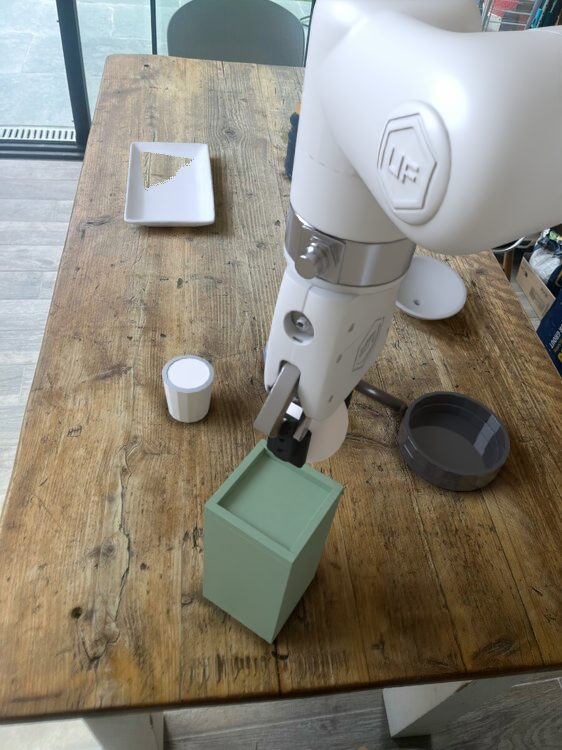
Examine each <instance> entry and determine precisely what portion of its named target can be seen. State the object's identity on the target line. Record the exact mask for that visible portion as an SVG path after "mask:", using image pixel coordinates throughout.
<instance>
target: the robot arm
mask: <svg viewBox="0 0 562 750" xmlns="http://www.w3.org/2000/svg"><path fill="white" fill-rule="evenodd" d="M312 10H313V11H312V15H311V20H310V28H309V29H310V30H309V36H308V45H307V52H306V53H307V54H306V61H305V67H304V68H305V69H304V76H303V77H304V78H303V83H302V84H303V85H302V93H301V100H300V102H301V108H300V116H299V124H298V132H297V140H296V149H295V157H294V165H293V174H292V180H291V184H290V192H289V198H288V208H287V214H286V225H285V232H284V239H283V240H284V241H283V249H282V250H283V256H284V259H285V261H286V263H287V265H286V266H285V269H284V272H283V276H282V279H281V283H280V287H279V290H278V295H277V299H276V304H275V308H274V312H273V315H272V321H271V324H270V325H271V326H270V331H269V335H268V339H269V341H268V340H267V342H268V347H267V353H266V361H265V372H263V373H264V374H263V380H264V381H263V382H264V388H265V391H266V394H268V395H267V397H266V399H265V401H264V403H263V405H262V407H261V408H260V410H259V413H258V414H257V416H256V419H255V420H254V423H253V426H252V428H253V429H254V430H257V431H258V432H259V433H261V434H263V435H265V436H266V437H267V439H266V441H267V449H268V450H269V451H271V452H272V453H273V455H274V456H275V457H277V458H278V459H280V460H282V461H284V462H289V463H291V464H292V465H294V466H296V467H297V468H302V467H303V465H304V464H306V463H305V462H306V458H307V454H308V449H309V445H310V440H311V436H312V432H311V431H310V430H309V429H308V428H309V426H310V423H311V421H312V419H314V420H315V421H321V420H324V419H326V418H328V417H329V416H331V415H332V414H333V413H334V412H335V410H336V409H337V408H338V407H339V406H340V405H341V403H342V402H343V401H344V402H345V405H346V408H347V410H348V409H349V408H350V405H351V402H352V398H353V395H354V392H355V390H354V388H355V386H356V385H357V384H358V382H359V381H360V380H361V379H362V380H363V378H364V376H365V375H366V374H367V372H368V371H369V370H370V369H371V367H372V366H373V365H374V364H375V363H376V361H377V359H378V358H379V357H380V355H381V354H382V352H383V350H384V348H385V346H386V343H387V339H388V337H389V336H388V335H389V332H390V329H391V328H390V327H391V324H392V320H393V317H394V313H395V309H396V301H397V297H398V293H399V289H400V284H401V282H402V281H403V280H404V279H405V278H406V276H407V274H408V271H409V268H410V264H411V262H412V259H413V256H414V254H415V252H416V249H417V246H419V248H422V249H424V250H426V251H428V252H431V253H433V254H436V255H437V254H438V255H442V256H443V255H444V256H452V257H459V256H470V255H474V254H478V253H483V252H486V251H490V250H492V249H495V248H497V247H501V246H504V245H506V244H509V243H512V242H514V241H518V240H520V239H521V240H522V239H524V238H526V237H529V236H532V235H534V234H538V233H540V232H543V231H546V230H548V229H550V228H551V229H552V228H553V227H556V226H559V225H561V224H562V24H560V25H550V26H549V25H548V26H542V27H533V28H528V29H524V30H502V31H501V30H499V31H498V30H497V31H483V17H482V13H481V9H480V7H479V6H478V4H477V2H476V1H475V0H315V4H314V7H313V9H312ZM291 402H292V403H294V404H296V405H297V406H299V407H301V408H302V409H303V410H302V413H301V416H300V418H299V420H298V419H296V418H295V417H293V416H291V415H289V414H288V413H286V412H287V410H288V408H289V406H290V404H291Z"/></svg>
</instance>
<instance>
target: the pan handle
mask: <svg viewBox="0 0 562 750" xmlns="http://www.w3.org/2000/svg"><path fill="white" fill-rule="evenodd" d="M354 391H356V392H358V393H360V394H361V395H363V396H365V397H367V398H369V399H370V400H373V401H375V402H377V403H378V404H381V405H383V406H384V407H385V408H388V409H390V410H392V411H394V412H395V413H398V414H400V415H405V412H406V410H407V409H408V407H409V404H408V403H407V402H406V401H404V400H402V399H400V398H399V397H397V396H394V395H393V394H391V393H388V392H387V391H385V390H383V389H381V388H379V387H377V386H375V385H373V384H372V383H369V382H367V381H366V380H364V379H363V378H362V379H361V380H360V381H359V382H358V384H357V385H356V386H355V388H354Z"/></svg>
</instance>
